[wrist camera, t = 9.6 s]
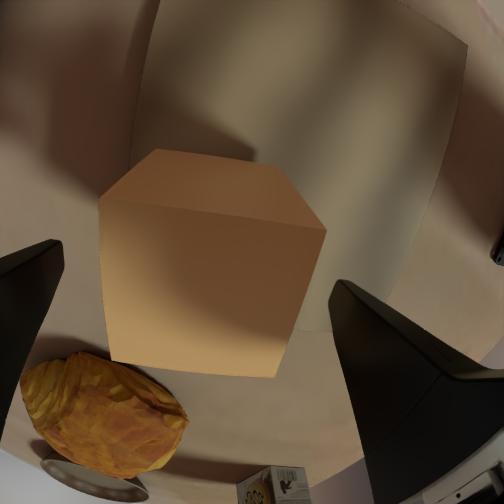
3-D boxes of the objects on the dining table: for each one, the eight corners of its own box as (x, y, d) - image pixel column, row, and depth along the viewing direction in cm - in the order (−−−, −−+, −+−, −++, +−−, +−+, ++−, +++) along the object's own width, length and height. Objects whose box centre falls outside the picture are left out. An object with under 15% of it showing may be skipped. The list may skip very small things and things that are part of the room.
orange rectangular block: (277, 166, 13) (327, 230, 7) (253, 270, 15) (274, 377, 9) (156, 148, 12) (99, 198, 6) (147, 257, 14) (111, 360, 8)
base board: (455, 46, 12) (468, 45, 11) (363, 322, 21) (369, 333, 20) (182, -47, 9) (179, -56, 8) (129, 298, 18) (125, 310, 17)
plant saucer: (46, 431, 27) (41, 449, 24) (167, 474, 33) (167, 492, 30) (42, 461, 33) (38, 474, 30) (132, 494, 39) (131, 507, 36)
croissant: (126, 430, 30) (125, 490, 23) (12, 369, 21) (-6, 439, 14) (222, 400, 27) (232, 477, 20) (86, 314, 18) (61, 423, 11)
